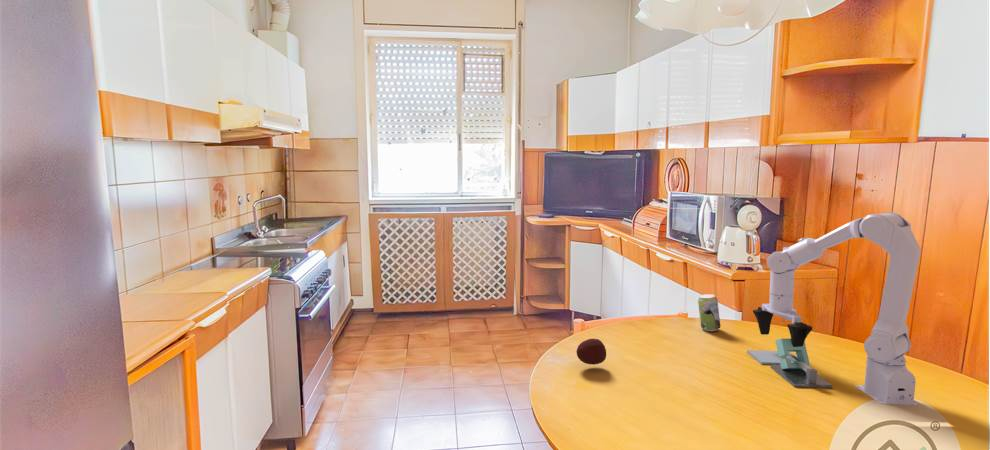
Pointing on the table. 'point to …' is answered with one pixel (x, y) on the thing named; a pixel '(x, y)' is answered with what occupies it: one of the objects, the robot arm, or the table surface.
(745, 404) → the table surface
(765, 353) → the mat
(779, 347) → the c link
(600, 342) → the dark brown ball
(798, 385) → the stand
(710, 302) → the beverage can
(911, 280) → the robot arm
